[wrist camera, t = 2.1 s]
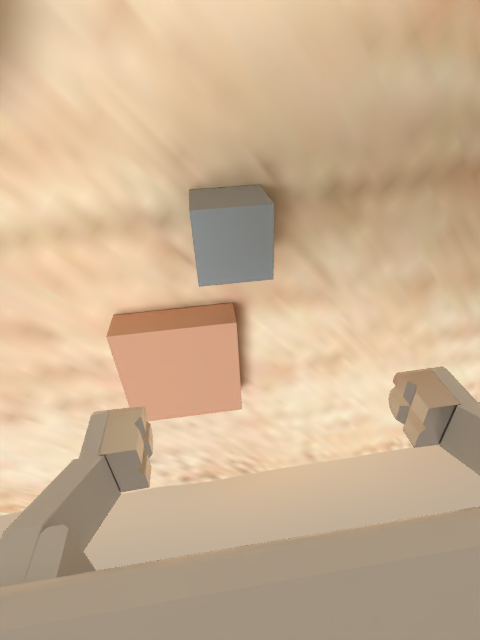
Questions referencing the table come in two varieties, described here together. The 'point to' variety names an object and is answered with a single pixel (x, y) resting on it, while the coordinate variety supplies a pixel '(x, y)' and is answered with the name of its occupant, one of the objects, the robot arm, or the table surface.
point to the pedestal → (178, 360)
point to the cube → (232, 234)
